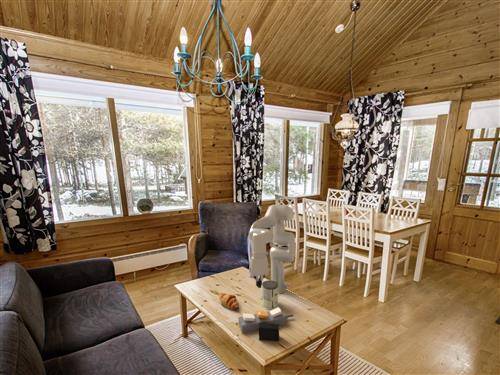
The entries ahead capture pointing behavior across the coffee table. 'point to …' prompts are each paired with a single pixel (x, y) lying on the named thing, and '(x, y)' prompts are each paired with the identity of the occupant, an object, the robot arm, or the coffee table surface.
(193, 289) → the coffee table surface
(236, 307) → the croissant
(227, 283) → the coffee table surface
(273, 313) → the white rocker
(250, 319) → the block
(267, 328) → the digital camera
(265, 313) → the amber rocker
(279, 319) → the power strip
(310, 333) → the coffee table surface
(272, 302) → the coffee can
